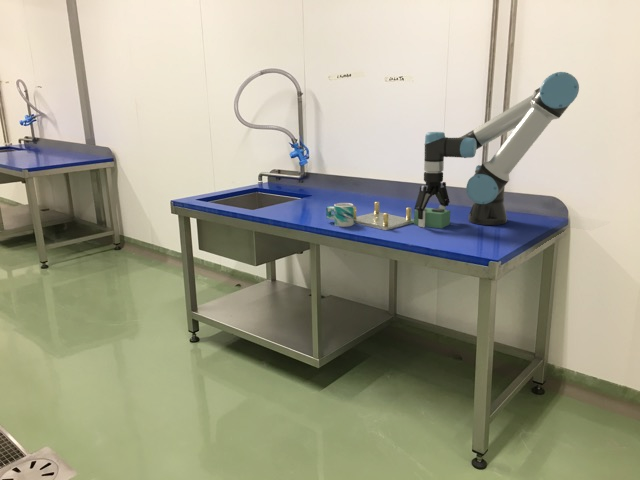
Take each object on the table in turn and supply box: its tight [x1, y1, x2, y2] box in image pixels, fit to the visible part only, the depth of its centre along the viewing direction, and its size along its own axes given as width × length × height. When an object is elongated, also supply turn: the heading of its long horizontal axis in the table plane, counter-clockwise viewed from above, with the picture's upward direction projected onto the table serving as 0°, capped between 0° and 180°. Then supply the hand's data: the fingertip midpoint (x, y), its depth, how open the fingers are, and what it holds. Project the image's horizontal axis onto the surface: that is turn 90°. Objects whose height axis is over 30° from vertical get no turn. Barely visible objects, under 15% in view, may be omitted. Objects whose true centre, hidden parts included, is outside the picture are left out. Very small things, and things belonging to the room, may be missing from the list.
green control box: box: [413, 206, 451, 229], centre depth 217 cm, size 12×8×7 cm, turn 52°
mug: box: [325, 202, 354, 228], centre depth 222 cm, size 8×12×8 cm
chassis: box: [353, 201, 414, 231], centre depth 223 cm, size 22×18×6 cm
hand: (431, 224), depth 218 cm, fingers open, 12 cm apart
